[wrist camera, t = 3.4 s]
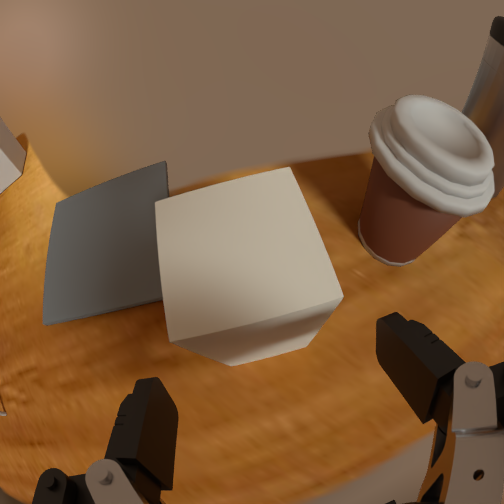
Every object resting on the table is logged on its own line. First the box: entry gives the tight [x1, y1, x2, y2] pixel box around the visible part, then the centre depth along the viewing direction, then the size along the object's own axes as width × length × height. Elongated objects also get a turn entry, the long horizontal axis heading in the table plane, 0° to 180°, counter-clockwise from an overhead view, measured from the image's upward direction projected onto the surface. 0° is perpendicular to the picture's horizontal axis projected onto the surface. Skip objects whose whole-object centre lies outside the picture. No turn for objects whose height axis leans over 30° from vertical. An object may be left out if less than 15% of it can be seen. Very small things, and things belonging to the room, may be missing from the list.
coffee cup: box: [358, 95, 495, 267], centre depth 17 cm, size 9×9×12 cm
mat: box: [43, 161, 169, 325], centre depth 24 cm, size 15×15×1 cm
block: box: [155, 167, 344, 366], centre depth 15 cm, size 6×6×12 cm
